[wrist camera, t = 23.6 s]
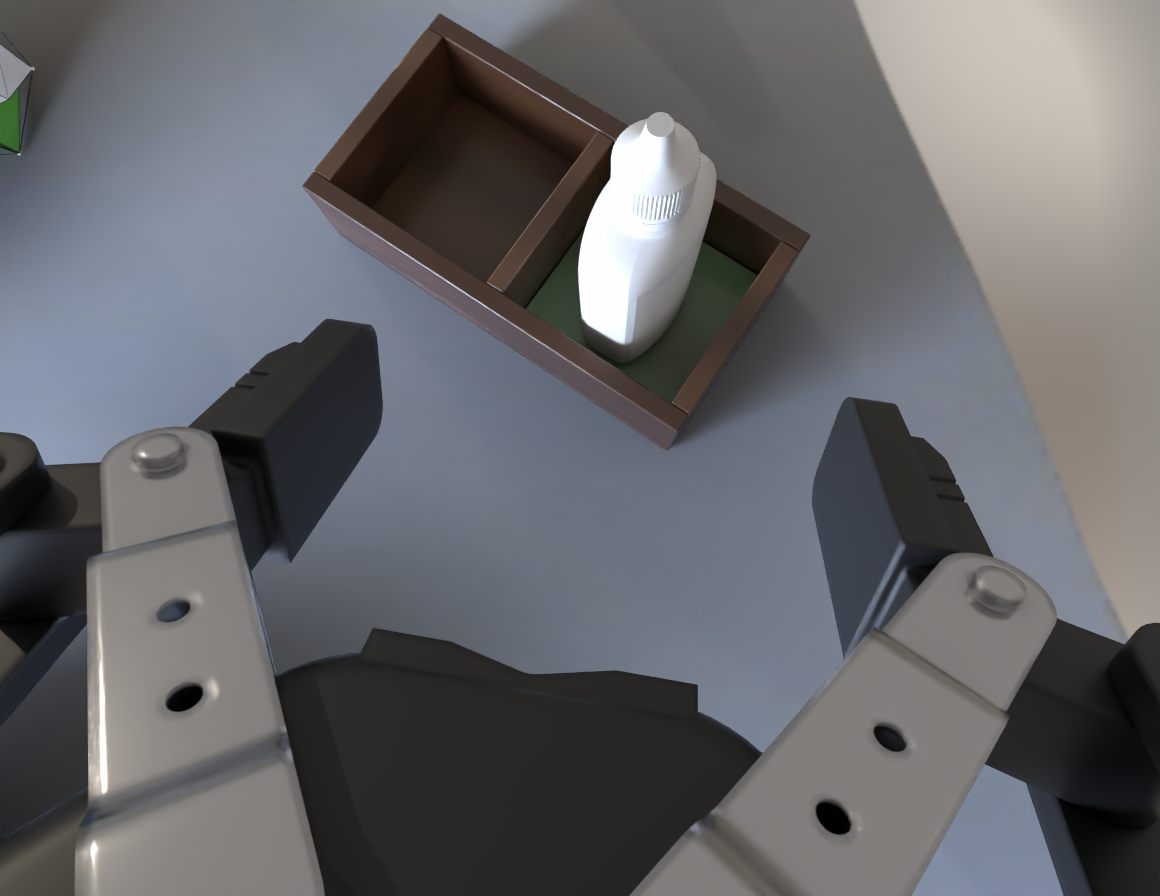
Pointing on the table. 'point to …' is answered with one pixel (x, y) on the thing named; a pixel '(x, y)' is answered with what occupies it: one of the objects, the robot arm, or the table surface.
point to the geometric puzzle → (11, 98)
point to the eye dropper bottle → (644, 237)
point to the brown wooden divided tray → (534, 223)
